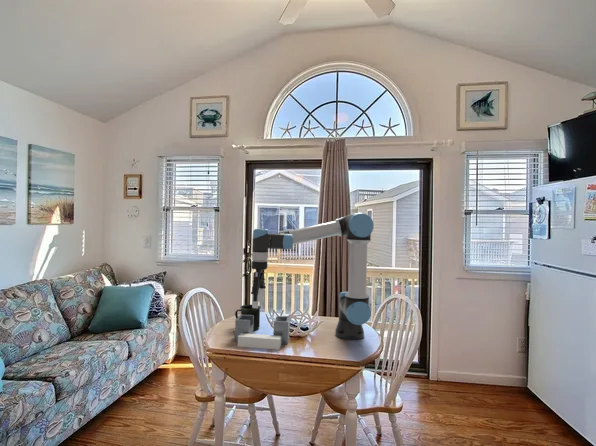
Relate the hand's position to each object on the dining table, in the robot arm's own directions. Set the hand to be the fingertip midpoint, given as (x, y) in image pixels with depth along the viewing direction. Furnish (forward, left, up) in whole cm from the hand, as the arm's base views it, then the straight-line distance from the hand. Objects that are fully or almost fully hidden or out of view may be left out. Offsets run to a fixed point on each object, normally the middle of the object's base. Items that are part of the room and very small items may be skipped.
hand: (258, 304), depth 169 cm
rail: (-2, +2, -19) cm, 20 cm away
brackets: (-2, -8, -19) cm, 21 cm away
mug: (+10, -25, -19) cm, 33 cm away
